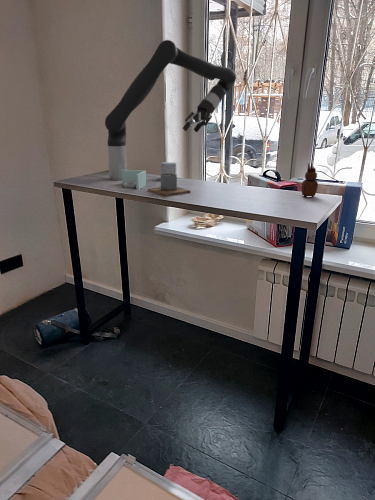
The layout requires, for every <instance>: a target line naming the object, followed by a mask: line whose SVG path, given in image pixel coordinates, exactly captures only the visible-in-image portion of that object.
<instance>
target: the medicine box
mask: <svg viewBox="0 0 375 500" xmlns="http://www.w3.org/2000/svg"><path fill="white" fill-rule="evenodd" d="M177 168H178V167H177V162H169V161H167V162H165V161H164V162H161V163H160V172H161V173H160V175H161V174H167V173H172V174H176V175H177ZM177 176H178V175H177Z"/></svg>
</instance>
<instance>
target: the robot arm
mask: <svg viewBox="0 0 375 500" xmlns="http://www.w3.org/2000/svg"><path fill="white" fill-rule="evenodd" d="M169 64H171V65H175V66H178V67H181V68H184V69H186V70H189V71H190V72H192V73H193V74H196V75H198V76H200V77H203V78H204V79H207V80H209V81H214V80H215V79H217V80H218V81H217V83H216V84H215V85H213V86H212V87H211V89H210V90H209V91H208V93H207V94H206V95H205V96H204V97H203V99H202V100H201V101H200V102H199V104H198V105H197V106H196V107H197V109H196V110H197V111H195V112H193V111H191V112H190V114H188V116H186V118H185V119H184V122H185V124H184V126H183V127H182V129H183V131H185V132H187V131H188V130H189V128H190V127H191V125H193V124H196V123H197V124H196V125H195V126H194V128H193V131H194V132H195V133H198V132H199V131H200V129H201V127H202V128H203V127H205V126H207V125H208V124H209V122H210V121H211V119H212V118H213V116H212V115H213V113H214V111H215V110H216V109H217V108H218V107H219V105H220V103H221V101H222V100H223V99H224V97H225V95H226V94H227V93H228V92H230V90H231V89H232V87H233V85H234V84H235V82H236V80H237V73H236V72H235V70H233V69H232V68H230V67H226V66H221V65H217V64H213V63H211V62H209V61H207V60H205V59H202V58H199V57H197V56H194V55H191V54H189V53H186V52H184V51H183V50H181V49H180V48H178V47H177V45H176V43H174V41H172V40H169V39H165V40H162V41H161V42H160V43H159V45H158V46H157V48H156V50H155V51H154V54H153V55H152V57H151V58H150V60H149V61H148V62H147V64H146V65H145V66H144V67H143V68H142V70H140V72H139V73H138V75H137V76H136V77H135V78H134V80H133V81H132V82H131V83H130V85H129V87H128V88H127V89H126V91H125V92H124V94H123V96H122V98H121V99H120V100H119V102H118V104H116V106H115V107H114V108H113V109H112V110H111V111H110V112H109V113H108V115H107V116H106V117H105V118H104V119H105V120H104V125H105V128H106V130H107V132H108V134H107V135H108V136H107V156H108V161H107V162H108V176H109V179H110V180H113V181H123V176H122V170H128V167H127V151H126V150H127V148H126V147H127V146H126V145H127V144H126V142H127V128H126V127H127V123H126V121H127V119H128V118H129V116H130V115H131V113H132V112H133V111H134V110H136V108H138V107H139V106H140V105H141V104H142V103H143V101H145V99H146V98H147V97H148V95H149V94H150V93H151V91H152V90H153V89H154V87H155V85H156V82H157V80H158V79H159V77H160V75H161V73H162V72H163V71H164V70H165V69H166V68H167V66H168V65H169Z"/></svg>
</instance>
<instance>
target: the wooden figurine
mask: <svg viewBox="0 0 375 500" xmlns="http://www.w3.org/2000/svg"><path fill="white" fill-rule="evenodd" d="M304 178H305V180H303V181H302V183H301V187H300V189H301V191H300V192H301V195H302V196H303V195H305V196H314V197H315V196H316V195H317V192H318V186H319V182H318V181H317V178H318V173H317V170H316V167H315V166H314V165H313V163H311V164H310V162H307V171H306V172H305V174H304Z"/></svg>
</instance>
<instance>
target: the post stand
mask: <svg viewBox="0 0 375 500" xmlns="http://www.w3.org/2000/svg"><path fill="white" fill-rule="evenodd" d="M168 175H170V174H168ZM147 191H148V192H149V193H153V194H156V195H159V196H162V197H171V196H177V195H184V194H185V195H186V194H191V189H190V190H189V189H188V188H187V189H186V188H182V187H178V186H177V190H174V191H165V190H161V186H160V187H159V186H158V187H152V188H148V189H147Z"/></svg>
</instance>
